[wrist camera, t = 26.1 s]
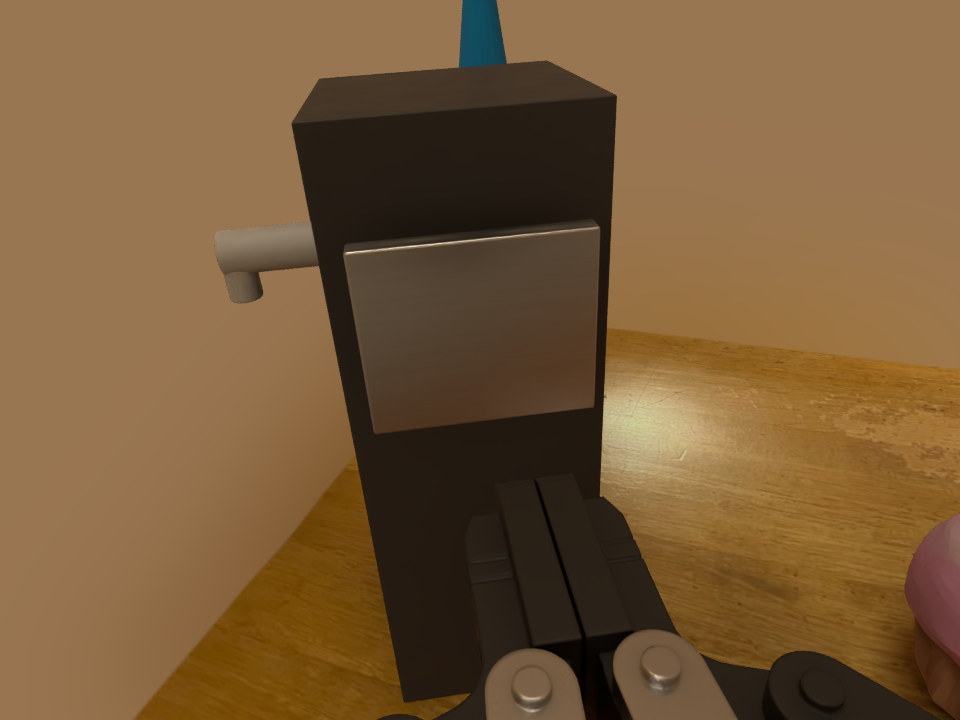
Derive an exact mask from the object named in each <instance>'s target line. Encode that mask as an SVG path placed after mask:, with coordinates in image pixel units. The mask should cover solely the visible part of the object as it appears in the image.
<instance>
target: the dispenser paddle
mask: <svg viewBox="0 0 960 720" xmlns="http://www.w3.org/2000/svg"><path fill="white" fill-rule="evenodd" d="M599 250H600V227H599V226H598V225H597V224H596V223H595V221H594V220H592V219H589V220H579V221H568V222H558V223H548V224H538V225H528V226H518V227H508V228H498V229H488V230H478V231H468V232H458V233H448V234H438V235H428V236H418V237H408V238H398V239H388V240H378V241H368V242H358V243H348V244H345V246H344V253H343V257H344V263H345V268H346V274H347V280H348V286H349V292H350V297H351V303H352V309H353V315H354V320H355V326H356V332H357V338H358V344H359V349H360V355H361V361H362V367H363V372H364V378H365V384H366V390H367V395H368V401H369V407H370V413H371V419H372V424H373V430H374V433H375V434H383V433H391V432H399V431H407V430H415V429H423V428H432V427H440V426H448V425H456V424H464V423H472V422H480V421H488V420H497V419H505V418H513V417H521V416H529V415H537V414H545V413H553V412H562V411H570V410H578V409H586V408H592V407H594V395H595V366H596V337H597V308H598V279H599Z"/></svg>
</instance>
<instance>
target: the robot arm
mask: <svg viewBox="0 0 960 720" xmlns="http://www.w3.org/2000/svg"><path fill="white" fill-rule="evenodd" d="M495 501H496V512H492V513H484V514H477V515H472V517H471V520H470V522H469V525H468V528H467V531H466V533H465V536H464V540H465V550H466V560H467V570H468V580H469V590H470V597H471V604H472V611H473V617H474V625H475V632H476V638H477V645H478V652H479V659H480V666H481V674H480V678H479V680H478V682H477V684H476V686H475V688H474V689H473V691H472V692H471V694H470V695H469V696H468V697H467V698H466V699H465V700H464V701H463V702H462V703H460V704H459V705H458V706H456V707H455V708H453V709H452V710H450V711H448V712H446V713H444V714H442V715H440V716H439V717H437V718H435V719H433V720H941V719H939V718H938V717H936V716H934V715H932V714H931V713H929V712H927V711H925V710H923V709H922V708H920V707H918V706H916V705H915V704H913V703H911V702H909V701H908V700H906V699H904V698H902V697H901V696H899V695H897V694H895V693H894V692H892V691H890V690H888V689H887V688H885V687H883V686H881V685H880V684H878V683H876V682H874V681H873V680H871V679H869V678H867V677H866V676H864V675H862V674H860V673H859V672H857V671H855V670H853V669H852V668H850V667H848V666H846V665H845V664H843V663H841V662H839V661H837V660H835V659H833V658H831V657H829V656H826V655H824V654H820V653H816V652H811V651H795V652H790V653H787V654H785V655H782V656H781V657H780V658H778V659H777V660H776V661H775V662H774V663H773V665H772V667H771V669H770V670H765V669H758V668H751V667H745V666H738V665H731V664H727V663H722V662H719V661H716V660H713V659H711V658H708V657H706V656H704V655H702V654H701V653H699V652H698V651H697V650H696V649H695V647H694V646H693V645H691V644H690V643H689V642H688V641H686V640H685V639H683V638H682V637H681V636H680V635H679V633H678V632H677V631H676V629H675V627H674V625H673V623H672V621H671V619H670V617H669V614H668V612H667V610H666V608H665V606H664V603H663V601H662V599H661V597H660V595H659V592H658V590H657V588H656V586H655V584H654V581H653V579H652V577H651V575H650V573H649V571H648V568H647V566H646V564H645V562H644V560H643V559H642V558H641V553H640V551H639V549H638V546H637V544H636V542H635V540H633V535H632V533H631V531H630V529H629V527H628V524H627V522H626V520H625V518H624V516H623V514H622V513H621V512H620V511H619V510H618V509H616V508H615V507H614V506H613V505H612V504H611V503H610V502H609V501H608V500H607V499H605V498H604V497H599V498H591V499H584V500H583V497H582V495H581V492H580V490H579V487H578V485H577V482H576V480H575V477H574V476H573V474H565V475H557V476H550V477H542V478H535V479H534V481H533V480H532V479H529V480H522V481H514V482H507V483H499V484H495ZM377 720H422V719H420V718H418V717H416V716H412V715H408V714H394V715H388V716H385V717H382V718H380V719H377Z"/></svg>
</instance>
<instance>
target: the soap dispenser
mask: <svg viewBox="0 0 960 720" xmlns="http://www.w3.org/2000/svg"><path fill="white" fill-rule="evenodd" d="M616 103H617V96H616V95H615V94H613V93H611V92H609V91H607V90H605V89H603V88H601V87H599V86H597V85H595V84H593V83H591V82H589V81H587V80H585V79H583V78H581V77H579V76H577V75H575V74H573V73H571V72H569V71H567V70H565V69H563V68H561V67H559V66H557V65H555V64H553V63H551V62H549V61H537V62H524V63H511V64H498V65H486V66H473V67H461V68H448V69H436V70H423V71H410V72H398V73H385V74H373V75H360V76H348V77H335V78H323V79H319V80H318V82H317V83H316V85H315V87H314V88H313V90H312V91H311V93H310V95H309V96H308V98H307V99H306V101H305V103H304V104H303V106H302V107H301V109H300V110H299V112H298V114H297V115H296V117H295V119H294V120H293V122H292V129H293V134H294V139H295V144H296V150H297V155H298V160H299V165H300V170H301V175H302V180H303V185H304V191H305V196H306V201H307V206H308V211H309V216H310V222H303V223H292V224H281V225H271V226H261V227H250V228H241V229H230V230H221V231H218V232H217V233H216V235H215V253H216V258H217V262H218V265H219V267H220V269H221V271H222V273H223V275H224V278H225V282H226V286H227V289H228V293H229V296H230V299H231V301H232V302H234V303H248V302H252V301H255V300H257V299H259V298H261V296H262V295H263V289H262V285H261V281H260V277H259V273H258V272H263V271H273V270H284V269H293V268H303V267H312V266H319V268H320V273H321V278H322V283H323V288H324V293H325V299H326V304H327V309H328V313H329V319H330V324H331V330H332V334H333V340H334V345H335V350H336V355H337V360H338V366H339V371H340V376H341V380H342V386H343V391H344V396H345V402H346V406H347V412H348V417H349V422H350V427H351V432H352V438H353V443H354V448H355V453H356V458H357V463H358V468H359V474H360V479H361V484H362V489H363V494H364V499H365V504H366V510H367V515H368V520H369V525H370V530H371V535H372V540H373V546H374V551H375V556H376V561H377V566H378V571H379V576H380V582H381V587H382V592H383V597H384V602H385V607H386V612H387V618H388V623H389V628H390V633H391V638H392V643H393V648H394V654H395V659H396V664H397V669H398V674H399V679H400V684H401V690H402V695H403V700H404V702H410V701H416V700H423V699H429V698H436V697H442V696H448V695H455V694H461V693H468V692H472V691H473V689H474V688H475V686H476V684H477V682H478V680H479V678H480V674H481V666H480V659H479V652H478V645H477V638H476V632H475V625H474V617H473V611H472V604H471V597H470V590H469V580H468V570H467V560H466V550H465V540H464V536H465V533H466V531H467V528H468V525H469V522H470V520H471V517H472V515H477V514H484V513H492V512H496V501H495V484H499V483H507V482H514V481H522V480H529V479H532V480H533V481H534V479H535V478H542V477H550V476H557V475H565V474H573V476H574V477H575V480H576V482H577V485H578V487H579V490H580V492H581V495H582V497H583V500H584V499H591V498H599V496H600V473H601V450H602V427H603V404H604V381H605V357H606V334H607V309H608V288H609V263H610V241H611V240H610V239H611V218H612V194H613V172H614V149H615V148H614V147H615V126H616ZM589 219H592V220H594V221H595V223H596V224H597V225H598V226H599V227H600V250H599V279H598V308H597V337H596V366H595V395H594V407H592V408H586V409H578V410H570V411H562V412H553V413H545V414H537V415H529V416H521V417H513V418H505V419H497V420H488V421H480V422H472V423H464V424H456V425H448V426H440V427H432V428H423V429H415V430H407V431H399V432H391V433H383V434H375V433H374V430H373V424H372V419H371V413H370V407H369V401H368V395H367V390H366V384H365V378H364V372H363V367H362V361H361V355H360V349H359V344H358V338H357V332H356V326H355V320H354V315H353V309H352V303H351V297H350V292H349V286H348V280H347V274H346V268H345V263H344V257H343V253H344V246H345V244H348V243H358V242H368V241H378V240H388V239H398V238H408V237H418V236H428V235H438V234H448V233H458V232H468V231H478V230H488V229H498V228H508V227H518V226H528V225H538V224H548V223H558V222H568V221H579V220H589Z"/></svg>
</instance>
